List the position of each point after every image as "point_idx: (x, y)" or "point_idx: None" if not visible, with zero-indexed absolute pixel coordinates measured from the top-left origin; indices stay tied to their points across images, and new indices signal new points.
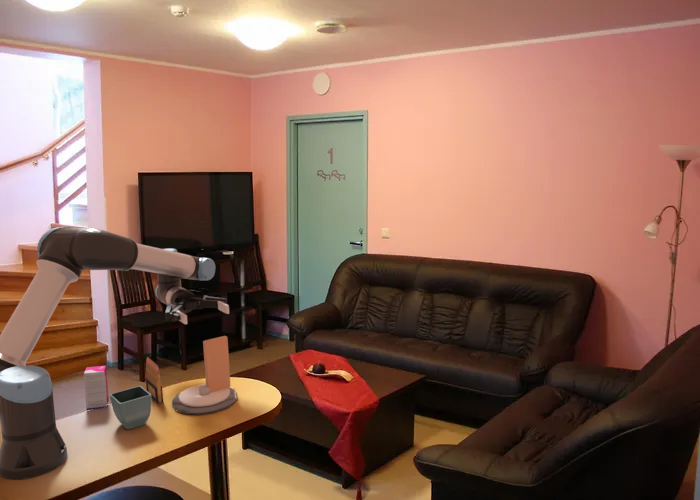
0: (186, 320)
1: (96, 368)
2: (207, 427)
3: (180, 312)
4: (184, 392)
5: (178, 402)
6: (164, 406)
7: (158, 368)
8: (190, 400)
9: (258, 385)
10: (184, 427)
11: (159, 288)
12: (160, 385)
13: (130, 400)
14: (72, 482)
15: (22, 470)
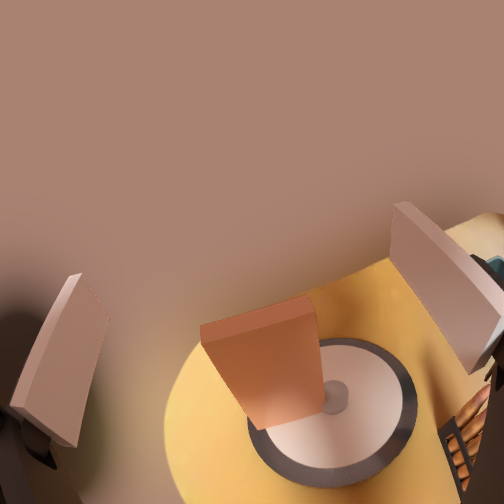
0: (395, 236)
1: None
2: (343, 295)
3: (460, 258)
4: (386, 424)
5: (402, 394)
6: (433, 407)
7: (480, 392)
8: (373, 369)
9: (178, 442)
10: (384, 305)
11: None
12: (457, 414)
13: (487, 262)
14: (485, 222)
15: None
